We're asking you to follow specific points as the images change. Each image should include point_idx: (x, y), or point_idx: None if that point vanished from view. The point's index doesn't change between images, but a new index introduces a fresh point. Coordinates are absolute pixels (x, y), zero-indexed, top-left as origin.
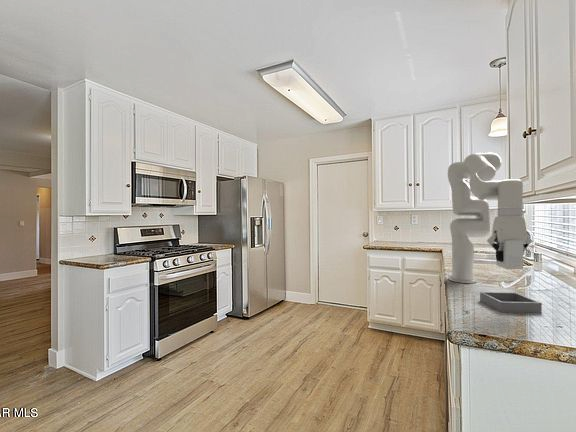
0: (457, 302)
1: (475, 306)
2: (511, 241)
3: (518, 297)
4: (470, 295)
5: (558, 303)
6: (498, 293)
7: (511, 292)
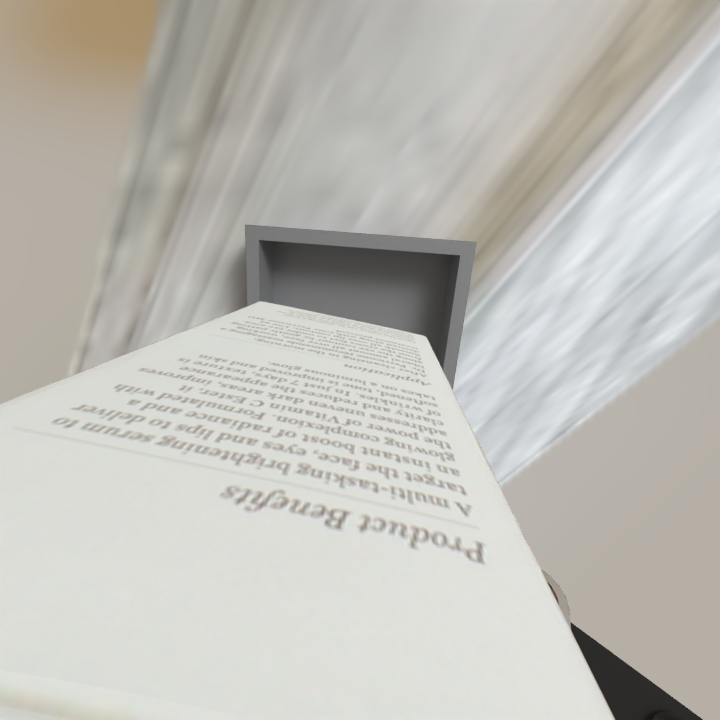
0: (129, 256)
1: (193, 326)
2: None
3: (451, 286)
4: (266, 95)
5: (677, 286)
6: (354, 246)
7: (445, 240)
